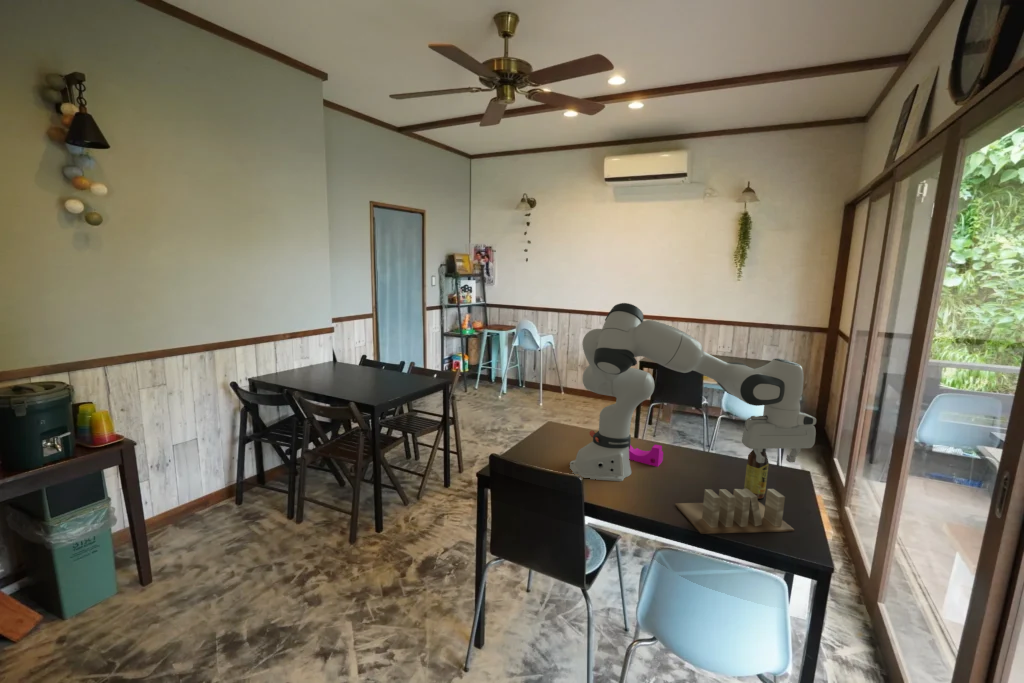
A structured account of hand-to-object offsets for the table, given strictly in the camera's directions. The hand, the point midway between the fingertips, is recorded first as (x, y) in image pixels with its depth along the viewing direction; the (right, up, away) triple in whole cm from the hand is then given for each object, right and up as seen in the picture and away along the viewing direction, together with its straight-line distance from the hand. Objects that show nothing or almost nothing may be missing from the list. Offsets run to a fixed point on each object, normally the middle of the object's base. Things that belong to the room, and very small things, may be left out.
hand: (775, 461), depth 132 cm
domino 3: (-10, -18, +1) cm, 20 cm away
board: (-10, -18, +5) cm, 21 cm away
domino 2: (-14, -18, +1) cm, 23 cm away
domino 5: (0, -18, +2) cm, 18 cm away
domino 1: (-19, -18, +1) cm, 26 cm away
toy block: (-26, -12, +47) cm, 55 cm away
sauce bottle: (+4, -17, +20) cm, 26 cm away
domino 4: (-5, -18, +2) cm, 19 cm away
